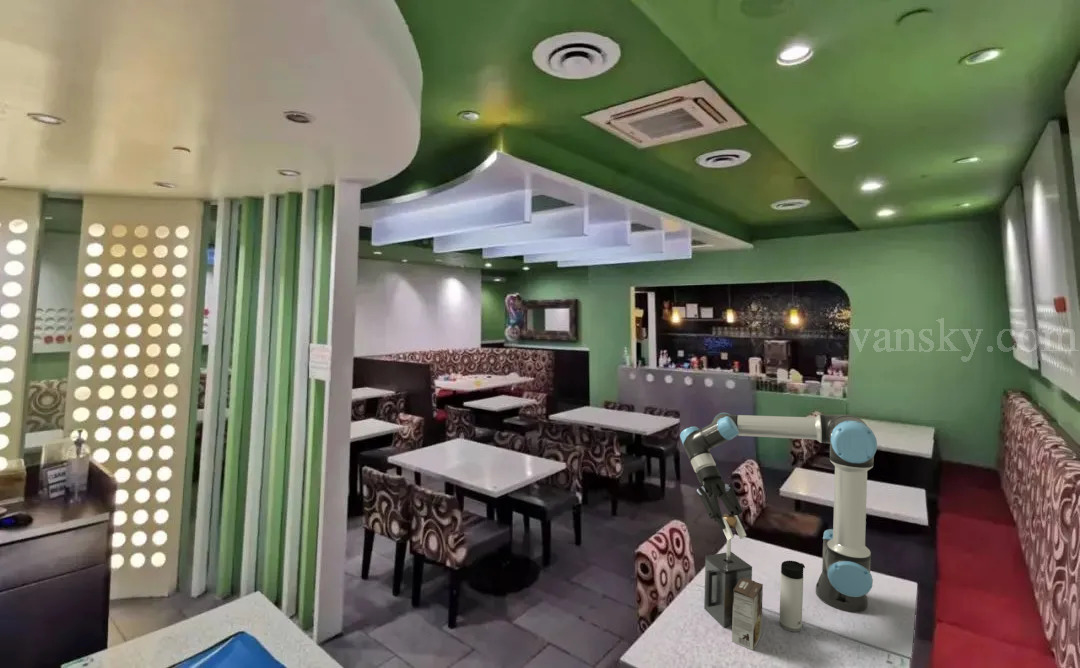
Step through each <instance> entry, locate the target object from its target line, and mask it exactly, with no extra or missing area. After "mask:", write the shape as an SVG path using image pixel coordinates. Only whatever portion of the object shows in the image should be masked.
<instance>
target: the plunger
mask: <svg viewBox="0 0 1080 668" xmlns="http://www.w3.org/2000/svg"><path fill="white" fill-rule="evenodd" d="M722 517H725V519H726V521H727V523H728V525H729V527H730V530H731V531H732V529H735V528H736V516H734V515H731V514H730V513H725V514H723V515H722ZM731 541H732V539H731V540H730V541H728V540H727V539H726V552H727V555H726V563H730V555H731V552H732V550H731V549H732V548H731V546H732V544H731V543H732V542H731Z"/></svg>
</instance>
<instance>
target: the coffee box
mask: <svg viewBox="0 0 1080 668" xmlns="http://www.w3.org/2000/svg"><path fill="white" fill-rule="evenodd" d="M763 585H764V584H763V583H761V582H757V581H756V580H755V581H754V580H753V579H752V580H750V579H747V578H744V577H741V579H740V580H739V582H738V583H737V585H736V586H735V588H734V589H733V622H732V626H731V628H732V629H731V631H732V632H731V642H733V643H735V644H737V645H739V646H741V647H744V648H747V649H749V650H751V651H755V648H756V646H757V645H758V642H759V641H760V638H761V636H762V633H763V631H762V630H763V621H762V620H763V594H764V593H763V589H764V588H763Z"/></svg>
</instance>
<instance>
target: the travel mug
mask: <svg viewBox="0 0 1080 668" xmlns="http://www.w3.org/2000/svg"><path fill="white" fill-rule="evenodd" d="M805 567H806V566H805V565H804V563H802V562H799V561H796V560H785V561H783V562H781V566H780V583H779V584H780V587H779V590H780V591H779V592H780V593H779V594H780V595H779V618H778V619H779V620H778V621H779V625H780V626H781V628H783V629H784V630H786V631H789V632H793V633H796V632H797V633H798V632H800V631H801V630H802V629H803V628H802V627H803V600H804V599H803V598H804V569H805Z"/></svg>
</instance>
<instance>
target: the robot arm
mask: <svg viewBox="0 0 1080 668" xmlns="http://www.w3.org/2000/svg"><path fill="white" fill-rule="evenodd" d="M741 436H742V437H761V438H777V439H779V438H780V439H798V440H814V441H815V440H816V441H817V442H819V443H820V444H829V461H830V462H831V463H832V465H833V466H834V484H833V485H834V487H833V489H834V490H833V491H834V493H833V520H832V521H833V522H832V523H833V525H832V526H833V528H831V529H830V528H829V529H825V530H824V532H823V537H822V539H823V543H822V564H821V565H822V568H821V573H820V576H819V578H818V580H817V582H816V584H815V594H816V596H817V598H818V599H819V600H820V601H822V602H824V603H825V604H827V605H829V606H830V607H833V608H835V609H839V610H841V611H846V612H854V613H857V612H863V611H865V610H867V608H868V603H869V602H868V600H869V599H868V597H867V594H868V593H869V592H870V591H871V590H872V587H873V581H874V579H873V575H872V573H871V553H872V552H871V550H870V549H869V548H868V547H867V546H866V527H867V526H866V525H867V521H866V519H867V494H868V493H867V492H868V491H867V489H868V488H867V487H868V471H870V470H871V469H873V467H874V460H875V459H874V457H875V454H876V452H877V449H878V441H877V437H876V435H875V433H874V431H873V430H872V429H871V428H870V427H869V426H868V425H867V424H866V422H865V421H864V420H862V419H861V418H859V417H857V416H855V415H851V414H817V416H815V417H814V416H813V417H812V416H811V417H810V416H809V417H807V416H784V415H783V416H781V415H780V416H778V415H777V416H776V415H774V416H773V415H747V414H743V415H742V414H737V415H736V414H730V413H728V412H720V413H718V414H716V415H715V417H713V419H712V422H711V423H710V424H708V425H706V426H705V427H702V428H701V429H700V428H699V427H698V426H690V427H687V428H684V429H683V430H682V431H681V432H680V434H679V437H680V441H681V443H682V446H683V449H684V451H685V453H686V455H687V457H688V459H689V461H690V464H691V466H692V468H693V471H694V472H695V473H696V474H695V475H696V477H697V480H698V482H699V484H700V485H701V486H700V487H699V488H697V489H696V490H695V492H696V494H697V495H698V496H699V498H700V500H701V503H702V505H703V507H704V508H705V510H706V511H705V512H706V513H707V515H708V517H709V519H711V520H712V519H713V521H714V522H717V525H718V526H719V529H720V530H722V531H723V533H724V536H725V537H726V541H727V540H728V541H730V540H731V541H732V539H734V538H735V537H734V535H733V532H732V529H731V530H730V527H729V525H728V523H727V521H726V519H725V517H723V515H722V511H721V507H720V504H719V503H720V502H719V500H720V501H721V502H722V503H723V505H724V506H725V508H726V509H727V511H728V512H729V514H731V515H734V516H736V528H734V529H735V531H736V533H737V535H738V537H739V540H742V539H744V538H745V537H746V536H747V533H746V531H745V529H744V527H743V526H744V524H743V522H742V519H741V517H740V515H741V514H742V513H744V512H743V509H742V506H741V504H740V502H739V500H738V499H739V498H738V497H737V495H736V493H735V491H734V485H733V484H732V483H729V484H727V483H725V482H724V481H723V479H722V474H721V473H720V471H719V469H718V466H716V465H717V463H716V462H715V460H714V458H713V456H712V454H711V452H710V450H711V449H712V450H713V449H714V448H716V447H717V446H719V445H722V444H724V443H726V442H728V441H731V440H733V439H734V438H736V437H741ZM718 499H719V500H718Z"/></svg>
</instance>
